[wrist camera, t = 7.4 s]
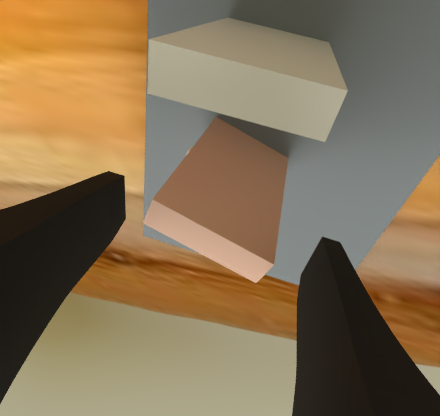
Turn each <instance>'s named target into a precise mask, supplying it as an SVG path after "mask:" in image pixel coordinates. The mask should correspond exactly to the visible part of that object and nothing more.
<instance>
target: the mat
mask: <svg viewBox="0 0 440 416" xmlns="http://www.w3.org/2000/svg"><path fill="white" fill-rule="evenodd" d="M224 18H232V19H236V20H240V21H244V22H249V23H253V24H257V25H261V26H265V27H269V28H273V29H277V30H281V31H285V32H289V33H293V34H298V35H302V36H306V37H310V38H314V39H318V40H322V41H326V42H329V43H330V46H331V48H332V51H333V54H334V56H335V59H336V61H337V64H338V67H339V69H340V72H341V74H342V77H343V79H344V82H345V85H346V87H347V90H348V92H347V94H346V96H345V98H344V101H343V103H342V105H341V107H340V110H339V112H338V114H337V116H336V119H335V121H334V123H333V125H332V128H331V130H330V132H329V135H328V137H327V139H326V141H325V142H322V141H319V140H315V139H311V138H308V137H304V136H300V135H297V134H293V133H289V132H286V131H282V130H279V129H275V128H271V127H268V126H264V125H260V124H257V123H253V122H249V121H246V120H242V119H238V118H235V117H231V116H228V115H224V114H220V113H217V112H213V111H209V110H206V109H202V108H198V107H195V106H191V105H187V104H184V103H180V102H177V101H173V100H169V99H166V98H162V97H158V96H155V95H151V94H147V91H148V49H149V39H152V38H156V37H159V36H163V35H166V34H170V33H174V32H177V31H181V30H185V29H188V28H192V27H195V26H199V25H203V24H206V23H210V22H214V21H217V20H221V19H224ZM216 117H218V118H219V119H221V120H223V121H225V122H226V123H228V124H230V125H232V126H233V127H235V128H237V129H239V130H240V131H242V132H244V133H246V134H247V135H249V136H251V137H252V138H254V139H256V140H258V141H259V142H261V143H263V144H265V145H266V146H268V147H270V148H272V149H273V150H275V151H277V152H279V153H280V154H282V155H284V156H286V157H287V158H289V159H288V166H287V173H286V181H285V188H284V196H283V203H282V210H281V218H280V225H279V233H278V240H277V247H276V255H275V262H274V265H273V266H272V267H271V268H270V270H269V271H268V272H267V273H266V274H265V275H268V276H271V277H275V278H278V279H281V280H284V281H287V282H290V283H293V284H297V285H299V283H300V277H301V273H302V272H303V270H304V268H305V266H306V264H307V263H308V261H309V259H310V257H311V256H312V254H313V252H314V250H315V248H316V247H317V245H318V243H319V241H320V239H321V238H322V237H325V238H329V239H332V240H335V241H338V242H340V243H341V244H342V246H343V248H344V250H345V252H346V254H347V256H348V258H349V260H350V262H351V263H352V265H353V267H354V269H355V270H356V268H357V267H358V266H359V264H360V263H361V262H362V260H363V259H364V257H365V256H366V255H367V253H368V252H369V251H370V249H371V248H372V247H373V245H374V244H375V242H376V241H377V240H378V238H379V237H380V236H381V234H382V233H383V232H384V230H385V229H386V227H387V226H388V225H389V223H390V222H391V221H392V219H393V218H394V216H395V215H396V214H397V212H398V211H399V210H400V208H401V207H402V206H403V204H404V203H405V201H406V200H407V199H408V197H409V196H410V195H411V193H412V192H413V191H414V189H415V188H416V186H417V185H418V184H419V182H420V181H421V180H422V178H423V177H424V176H425V174H426V173H427V171H428V170H429V169H430V167H431V166H432V165H433V163H434V162H435V161H436V159H437V158H438V156H439V155H440V0H148V40H147V87H146V134H145V182H144V219H145V216H146V214H147V211H148V209H149V206H150V204H151V201H152V199H153V198H154V197H155V195H156V194H157V193H158V191H159V190H160V189H161V187H162V186H163V185H164V184H165V182H166V181H167V180H168V178H169V177H170V176H171V175H172V173H173V172H174V171H175V169H176V168H177V167H178V165H179V164H180V163H181V162H182V160H183V159H184V158H185V156H186V154H187V152H188V149H189V148H190V147H193V146H194V145H195V144H196V142H197V141H198V140H199V138H200V137H201V136H202V134H203V133H204V132H205V131H206V129H207V128H208V127H209V125H210V124H211V123H212V122H213V120H214V119H215V118H216ZM143 236H146V237H149V238H153V239H156V240H159V241H162V242H165V243H168V244H171V245H174V246H178V247H181V248H184V249H187V250H190V251H193V252H196V251H194V250H193V249H191V248H189V247H187V246H185V245H183V244H181V243H179V242H177V241H176V240H174V239H172V238H170V237H168V236H166V235H164V234H162V233H160V232H159V231H157V230H155V229H153V228H151V227H149V226H147V225H145V224H144V229H143ZM196 253H198V252H196ZM199 254H200V253H199Z"/></svg>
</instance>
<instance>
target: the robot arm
mask: <svg viewBox="0 0 440 416" xmlns="http://www.w3.org/2000/svg"><path fill="white" fill-rule="evenodd" d="M125 219H126V213H125V182H124V176H123V175H119V174H116V173H113V172H110V171H108V172H105V173H102V174H99V175H96V176H94V177H91V178H89V179H86V180H83V181H81V182H78V183H76V184H73V185H71V186H68V187H65V188H63V189H60V190H58V191H55V192H52V193H50V194H47V195H44V196H41V197H38V198H35V199H32V200H29V201H26V202H24V203H21V204H18V205H15V206H11V207H8V208H5V209H1V210H0V403H1V402H2V400H3V398H4V396H5V394H6V393H7V391H8V389H9V387H10V385H11V383H12V382H13V380H14V378H15V377H16V375H17V373H18V372H19V370H20V368H21V366H22V365H23V363H24V361H25V360H26V358H27V356H28V355H29V353H30V351H31V350H32V348H33V346H34V345H35V343H36V342H37V340H38V339H39V337H40V336H41V334H42V333H43V331H44V329H45V328H46V326H47V325H48V323H49V322H50V320H51V319H52V317H53V315H54V314H55V313H56V311H57V309H58V308H59V307H60V305H61V304H62V302H63V301H64V299H65V298H66V296H67V295H68V294H69V293H70V291H71V290H72V289H73V287H74V286H75V285H76V284H77V283H78V281H79V280H80V279H81V278H82V277H83V275H84V274H85V273H86V272H87V271H88V269H89V268H90V267H91V266H92V265H93V263H94V262H95V261H96V260H97V259H98V257H99V256H100V255H101V254H102V253H103V251H104V250H105V249H106V248H107V246H108V245H109V244H110V243H111V241H112V240H113V239H114V237H115V235H116V234H117V232H118V231H119V229H120V227H121V226H122V224H123V222H124V221H125ZM292 416H440V395H439V394H438V393H437V391H436V390H435V389H434V388H433V387H432V385H431V384H430V383H429V382H428V380H427V379H426V378H425V376H424V375H423V374H422V373H421V371H420V370H419V369H418V367H417V366H416V365H415V363H414V362H413V361H412V359H411V358H410V357H409V355H408V354H407V353H406V351H405V350H404V348H403V347H402V346H401V344H400V343H399V342H398V340H397V339H396V337H395V336H394V334H393V333H392V331H391V330H390V328H389V327H388V325H387V324H386V322H385V320H384V319H383V317H382V316H381V314H380V313H379V311H378V309H377V308H376V306H375V305H374V303H373V301H372V300H371V298H370V296H369V294H368V293H367V291H366V289H365V287H364V286H363V284H362V282H361V280H360V278H359V277H358V275H357V273H356V271H355V269H354V267H353V265H352V263H351V262H350V260H349V258H348V256H347V254H346V252H345V250H344V248H343V246H342V244H341V243H340V242H338V241H335V240H332V239H329V238H325V237H322V238H321V239H320V241H319V243H318V245H317V247H316V248H315V250H314V252H313V254H312V256H311V257H310V259H309V261H308V263H307V264H306V266H305V268H304V270H303V272H302V273H301V277H300V283H299V290H298V298H297V370H296V385H295V395H294V404H293V413H292Z"/></svg>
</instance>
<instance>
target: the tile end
mask: <svg viewBox="0 0 440 416" xmlns="http://www.w3.org/2000/svg"><path fill="white" fill-rule="evenodd" d="M288 159H289V158H287V157H286V156H284V155H282V154H280V153H279V152H277V151H275V150H273V149H272V148H270V147H268V146H266V145H265V144H263V143H261V142H259V141H258V140H256V139H254V138H252V137H251V136H249V135H247V134H246V133H244V132H242V131H240V130H239V129H237V128H235V127H233V126H232V125H230V124H228V123H226V122H225V121H223V120H221V119H219V118H218V117H216V118H215V119H214V120H213V122H212V123H211V124H210V125H209V127H208V128H207V129H206V131H205V132H204V133H203V134H202V136H201V137H200V138H199V140H198V141H197V142H196V144H195V145H194V146H193V147H190V148H189V149H188V152H187V154H186V156H185V158H184V159H183V160H182V162H181V163H180V164H179V165H178V167H177V168H176V169H175V171H174V172H173V173H172V175H171V176H170V177H169V178H168V180H167V181H166V182H165V184H164V185H163V186H162V187H161V189H160V190H159V191H158V193H157V194H156V195H155V197H154V198H153V199H152V201H151V204H150V206H149V209H148V211H147V214H146V216H145V219H144V221H143V224H145V225H147V226H149V227H151V228H153V229H155V230H157V231H159V232H160V233H162V234H164V235H166V236H168V237H170V238H172V239H174V240H176V241H177V242H179V243H181V244H183V245H185V246H187V247H189V248H191V249H193V250H194V251H196V252H198V253H200V254H202V255H204V256H206V257H208V258H210V259H211V260H213V261H215V262H217V263H219V264H221V265H223V266H225V267H227V268H228V269H230V270H232V271H234V272H236V273H238V274H240V275H242V276H244V277H245V278H247V279H249V280H251V281H253V282H255V283H257V282H258V281H259V280H260V279H261V278H262V277H263V276H264V275H265V274H266V273H267V272H268V271H269V270H270V268H271V267H272V266H273V265H274V262H275V255H276V247H277V240H278V233H279V225H280V218H281V210H282V203H283V196H284V188H285V181H286V173H287V166H288Z"/></svg>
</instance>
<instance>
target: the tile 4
mask: <svg viewBox="0 0 440 416" xmlns="http://www.w3.org/2000/svg"><path fill="white" fill-rule="evenodd" d="M347 92H348V90H347V87H346V85H345V82H344V79H343V77H342V74H341V72H340V69H339V67H338V64H337V61H336V59H335V56H334V54H333V51H332V48H331V46H330V43H329V42H326V41H322V40H318V39H314V38H310V37H306V36H302V35H298V34H293V33H289V32H285V31H281V30H277V29H273V28H269V27H265V26H261V25H257V24H253V23H249V22H244V21H240V20H236V19H232V18H224V19H221V20H217V21H214V22H210V23H206V24H203V25H199V26H195V27H192V28H188V29H185V30H181V31H177V32H174V33H170V34H166V35H163V36H159V37H156V38H152V39H149V49H148V91H147V94H151V95H155V96H158V97H162V98H166V99H169V100H173V101H177V102H180V103H184V104H187V105H191V106H195V107H198V108H202V109H206V110H209V111H213V112H217V113H220V114H224V115H228V116H231V117H235V118H238V119H242V120H246V121H249V122H253V123H257V124H260V125H264V126H268V127H271V128H275V129H279V130H282V131H286V132H289V133H293V134H297V135H300V136H304V137H308V138H311V139H315V140H319V141H322V142H325V141H326V139H327V137H328V135H329V132H330V130H331V128H332V125H333V123H334V121H335V119H336V116H337V114H338V112H339V110H340V107H341V105H342V103H343V101H344V98H345V96H346V94H347Z"/></svg>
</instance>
